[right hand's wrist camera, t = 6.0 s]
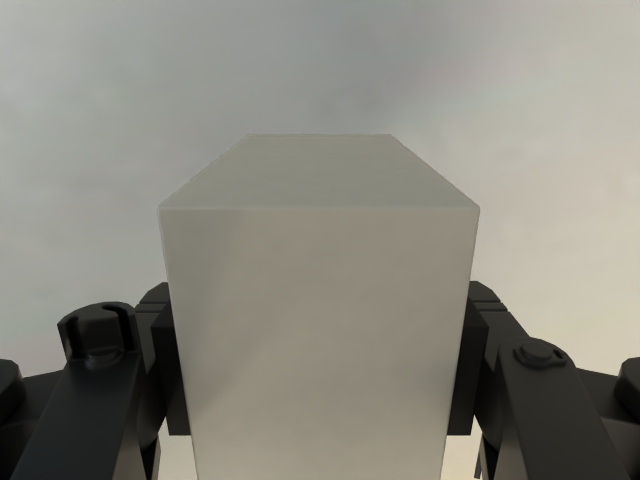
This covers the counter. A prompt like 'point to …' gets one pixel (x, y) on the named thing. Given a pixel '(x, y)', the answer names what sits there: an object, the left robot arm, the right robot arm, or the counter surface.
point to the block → (318, 308)
